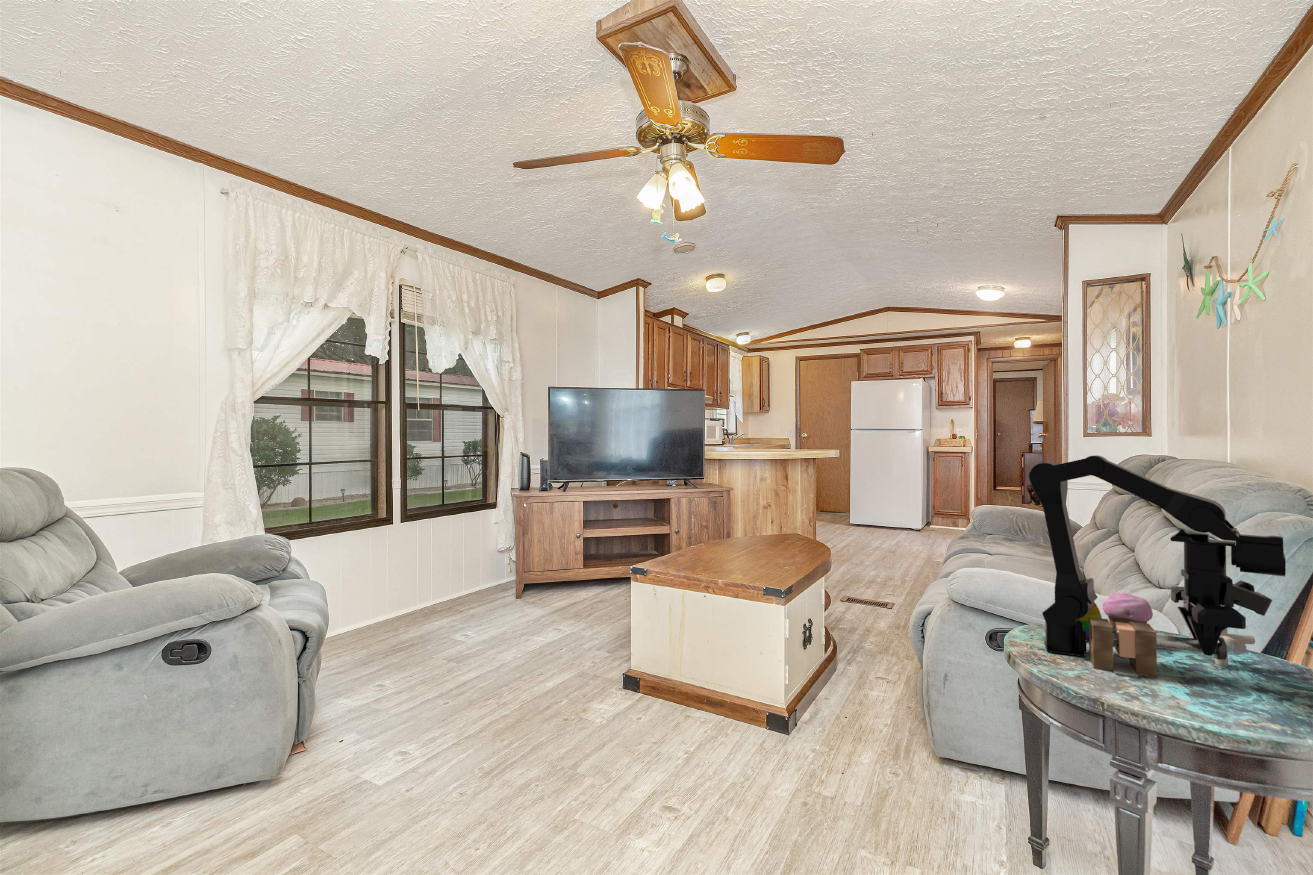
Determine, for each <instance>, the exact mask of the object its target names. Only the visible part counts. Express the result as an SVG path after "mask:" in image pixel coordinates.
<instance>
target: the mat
mask: <svg viewBox="0 0 1313 875" xmlns="http://www.w3.org/2000/svg"><path fill="white" fill-rule="evenodd" d="M1112 672H1114V674H1115V675H1117V676H1121V677H1122V676H1123V677H1130V678H1135V679H1138V678H1139V675H1138V674H1137V673H1136V672H1135V670H1134V668H1133V667H1132V665H1131V663H1130V659H1128V658H1125V657H1116V656H1113V671H1112Z"/></svg>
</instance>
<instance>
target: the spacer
mask: <svg viewBox="0 0 1313 875" xmlns="http://www.w3.org/2000/svg"><path fill="white" fill-rule="evenodd" d="M1114 629H1117V631H1118V634H1119V642H1114V648H1115V651H1116V653H1117V654H1118V656H1119V658H1127V659H1128V658H1129V659H1130V658H1136V648H1135V630H1134V629H1133V627H1132V626H1131V625H1130V623H1121V622H1114Z"/></svg>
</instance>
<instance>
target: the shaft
mask: <svg viewBox="0 0 1313 875" xmlns="http://www.w3.org/2000/svg"><path fill="white" fill-rule="evenodd" d="M1115 642H1119V634H1118V631H1117V629H1113V643H1115ZM1156 647H1157V648H1159V649H1168V650H1177V651H1185V652H1191V653H1201V654H1204V653H1203V651H1202V649H1201V647H1200V645H1199V642H1198V640H1197V639H1195V638H1189V637H1187V636H1186V637H1185V636H1178V635H1177V636H1176V635H1170V634H1169V635H1167V634H1162V633H1161V634H1160V633H1156ZM1213 656H1214V658H1216V659H1219V660H1226V657H1227V647H1226V643H1225V640H1224V638H1223V637H1219V639H1218V642H1217V645H1216V647H1215V650H1214V653H1213Z"/></svg>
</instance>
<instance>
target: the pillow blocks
mask: <svg viewBox="0 0 1313 875" xmlns="http://www.w3.org/2000/svg"><path fill="white" fill-rule="evenodd" d="M1129 623H1130V625H1131V626H1132V627H1133V629H1134V630H1135V648H1136V658H1129V662H1130V663H1131V665H1132V667H1133V668H1134V670H1135V672H1136V673H1137V675H1138V676H1139V675H1140V676H1144V677H1145V676H1146V677H1152V678H1153V677H1154V678H1158V659H1157V658H1158V656H1157V654H1158V652H1157V649H1158V647H1156V634H1157V632H1156V630H1155V629H1154V628H1153V626H1151V625H1150V623H1148V622H1147V623H1138V622H1129ZM1088 642H1089V644H1088V646H1089V647H1088V650H1089V651H1088V652H1089V653H1088V654H1089V655H1088V656H1089V660H1090V663H1091V665H1092V667H1093V669H1098V670H1105V671H1111V672H1114V671H1113V657H1114V642H1113V627H1112V626H1111V624H1110V622H1109V619H1108V618H1103V617H1102V618H1093V617H1089V641H1088Z"/></svg>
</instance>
